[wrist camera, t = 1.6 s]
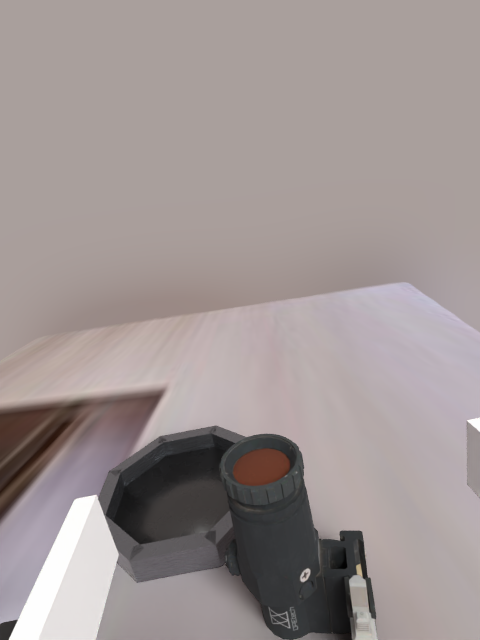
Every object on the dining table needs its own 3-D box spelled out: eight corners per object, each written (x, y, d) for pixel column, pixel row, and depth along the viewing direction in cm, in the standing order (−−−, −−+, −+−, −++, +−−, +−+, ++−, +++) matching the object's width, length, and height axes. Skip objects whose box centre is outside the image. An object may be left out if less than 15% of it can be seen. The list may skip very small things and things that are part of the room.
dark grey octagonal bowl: (77, 594, 33) (68, 573, 33) (125, 459, 50) (120, 444, 50) (280, 555, 33) (276, 533, 32) (259, 434, 50) (256, 417, 50)
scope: (367, 509, 19) (182, 511, 22) (385, 685, 24) (229, 671, 26) (350, 417, 27) (215, 425, 29) (366, 563, 31) (247, 560, 33)
